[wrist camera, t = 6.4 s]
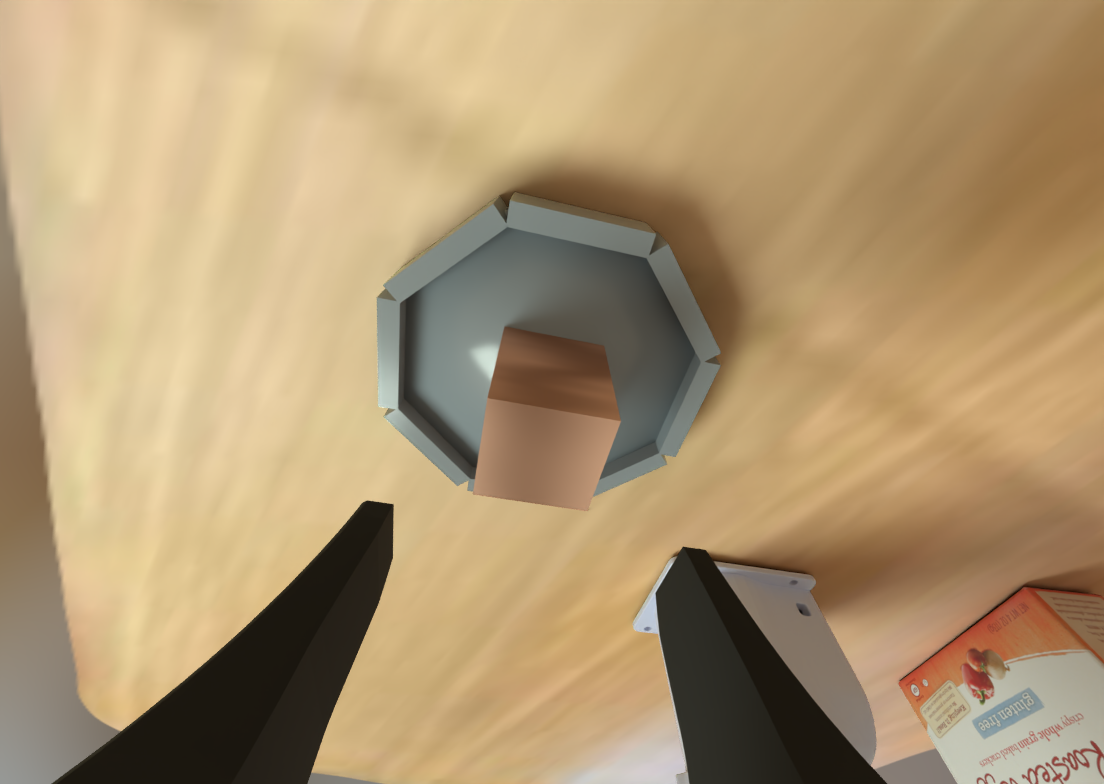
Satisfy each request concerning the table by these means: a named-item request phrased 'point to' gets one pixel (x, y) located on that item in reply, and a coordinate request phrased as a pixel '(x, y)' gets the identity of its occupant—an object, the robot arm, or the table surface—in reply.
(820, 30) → the table surface
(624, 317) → the dish
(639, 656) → the table surface
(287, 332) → the table surface
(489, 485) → the block
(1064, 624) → the cracker box
